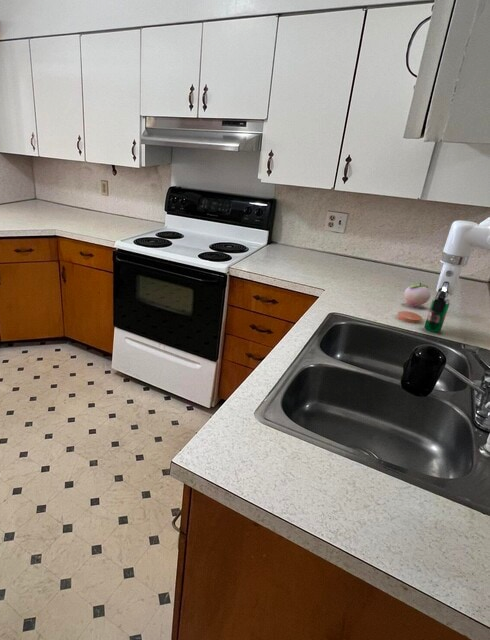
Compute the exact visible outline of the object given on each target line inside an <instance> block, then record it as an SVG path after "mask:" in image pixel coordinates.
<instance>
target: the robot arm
mask: <svg viewBox="0 0 490 640" xmlns="http://www.w3.org/2000/svg"><path fill="white" fill-rule="evenodd" d="M474 247H476V248H480V249H483V250H487V251H490V216H489V217H487V218H486V219H484V220H483V221H481V222H480V223H479V224H478V223H477V222H474V221H469V220H463V219H461V220H459V219H458V220H454V221H453V222H452V224H451V226H450V229H449V232H448V235H447V238H446V242H445V244H444V247H443V250H442V252H441V257H440V260H439V262H440V263H442V267H441V270H440V274H439V277H438V280H437V285H436V295H435V297H436V296H437V298H436V299H435V301H434V304H433V307H432V310H433V311H437V312H441V313H442V312H443V310H444V307H445V304H446V298H447V299H448V296H449V295H450V296H453V295H454V294H455V293H454V292H455V289H456V287H457V285H458V281H459V279H460V275H461V272H462V269H463V268H465V267H467V266H468V262H469V260H470V257H471V254H472V251H473V249H474ZM438 297H439V298H438Z"/></svg>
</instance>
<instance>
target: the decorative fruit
mask: <svg viewBox="0 0 490 640" xmlns="http://www.w3.org/2000/svg"><path fill="white" fill-rule="evenodd" d="M431 293H432V292H431V290H430V289H429V286H428V285H427V284H426V285H425V284H422V282H419V284H412V285H410V286H407V288H406V289H405V290H404V293H403V295H404V298H405V300H406V302H407V303H408V304H409V305H411V306H412V307H416V306H421V305H424V304H426V303H428V302H429V300H430V298H431Z"/></svg>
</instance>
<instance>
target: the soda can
mask: <svg viewBox="0 0 490 640" xmlns="http://www.w3.org/2000/svg"><path fill="white" fill-rule="evenodd" d="M436 298H437V296H436V295H435V296H434V298H432V301H431V304H430V308H429V309H428V313H427V316H426V320H425V322H424V326H423V327H424V330H425V331H427V332H429V333H433V334H438V333H440V332H441V331H442V328H443V325H444V323H445V319H446V317H447V313H448V311H449V307H450V299H449V298H448V297H447V298H446V304H445V307H444V310H443V312H442V313H441V312H437V311H433V310H432V307H433V304H434V301H435V299H436ZM438 298H439V297H438Z"/></svg>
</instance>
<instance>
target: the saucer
mask: <svg viewBox="0 0 490 640" xmlns="http://www.w3.org/2000/svg"><path fill="white" fill-rule="evenodd" d="M396 317H397V319H398V320H400V321H402V322H406V323H409V324H420V323H422V320H423V317H422V316H421V315H420V314H418V313H415V312H412V311H406V310H401V311H398V312H397V315H396Z"/></svg>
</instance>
